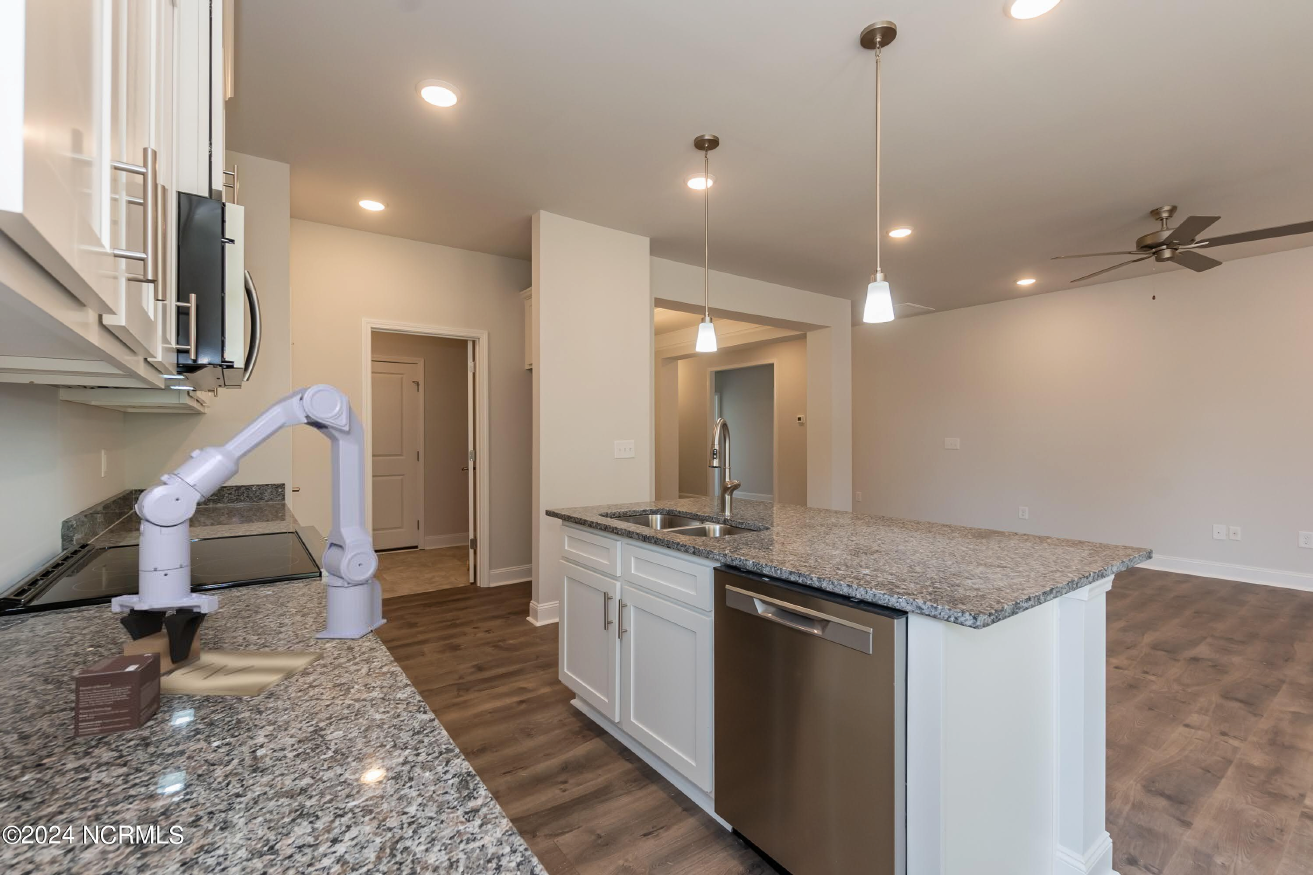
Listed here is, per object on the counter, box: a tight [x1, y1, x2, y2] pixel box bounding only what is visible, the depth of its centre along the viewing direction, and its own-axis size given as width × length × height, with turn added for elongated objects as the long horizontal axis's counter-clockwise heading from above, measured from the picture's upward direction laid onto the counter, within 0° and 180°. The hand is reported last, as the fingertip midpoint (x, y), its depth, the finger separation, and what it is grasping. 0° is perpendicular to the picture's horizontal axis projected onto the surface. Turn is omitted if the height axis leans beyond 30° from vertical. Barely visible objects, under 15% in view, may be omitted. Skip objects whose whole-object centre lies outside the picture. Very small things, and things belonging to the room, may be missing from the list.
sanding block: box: [123, 626, 201, 677], centre depth 84 cm, size 8×4×5 cm, turn 177°
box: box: [73, 652, 161, 740], centre depth 70 cm, size 6×6×7 cm
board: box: [160, 649, 324, 697], centre depth 85 cm, size 14×24×1 cm, turn 87°
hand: (165, 660), depth 84 cm, fingers closed on sanding block, 4 cm apart
